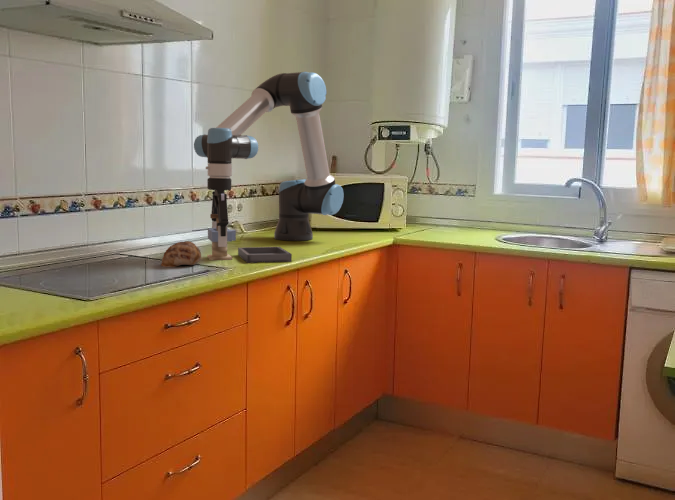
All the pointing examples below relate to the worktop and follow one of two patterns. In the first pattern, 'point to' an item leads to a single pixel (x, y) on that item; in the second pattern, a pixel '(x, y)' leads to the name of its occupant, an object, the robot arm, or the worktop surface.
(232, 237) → the ring
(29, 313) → the worktop surface
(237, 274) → the worktop surface
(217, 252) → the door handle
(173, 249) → the seashell
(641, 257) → the worktop surface
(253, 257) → the tray
